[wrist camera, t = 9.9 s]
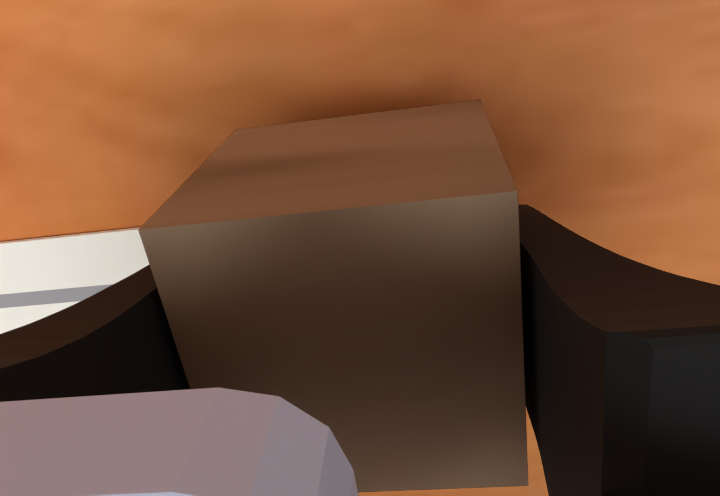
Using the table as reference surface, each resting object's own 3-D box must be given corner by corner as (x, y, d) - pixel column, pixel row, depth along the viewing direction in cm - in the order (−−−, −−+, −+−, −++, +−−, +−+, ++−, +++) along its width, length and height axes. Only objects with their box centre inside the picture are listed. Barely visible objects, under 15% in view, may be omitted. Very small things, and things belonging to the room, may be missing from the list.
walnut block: (493, 315, 14) (528, 485, 10) (283, 331, 15) (225, 497, 10) (480, 99, 12) (518, 191, 8) (235, 129, 13) (138, 230, 8)
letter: (320, 505, 23) (320, 509, 23) (-15, 518, 25) (-17, 521, 25) (250, 215, 18) (248, 218, 18) (-167, 259, 20) (-171, 261, 20)
